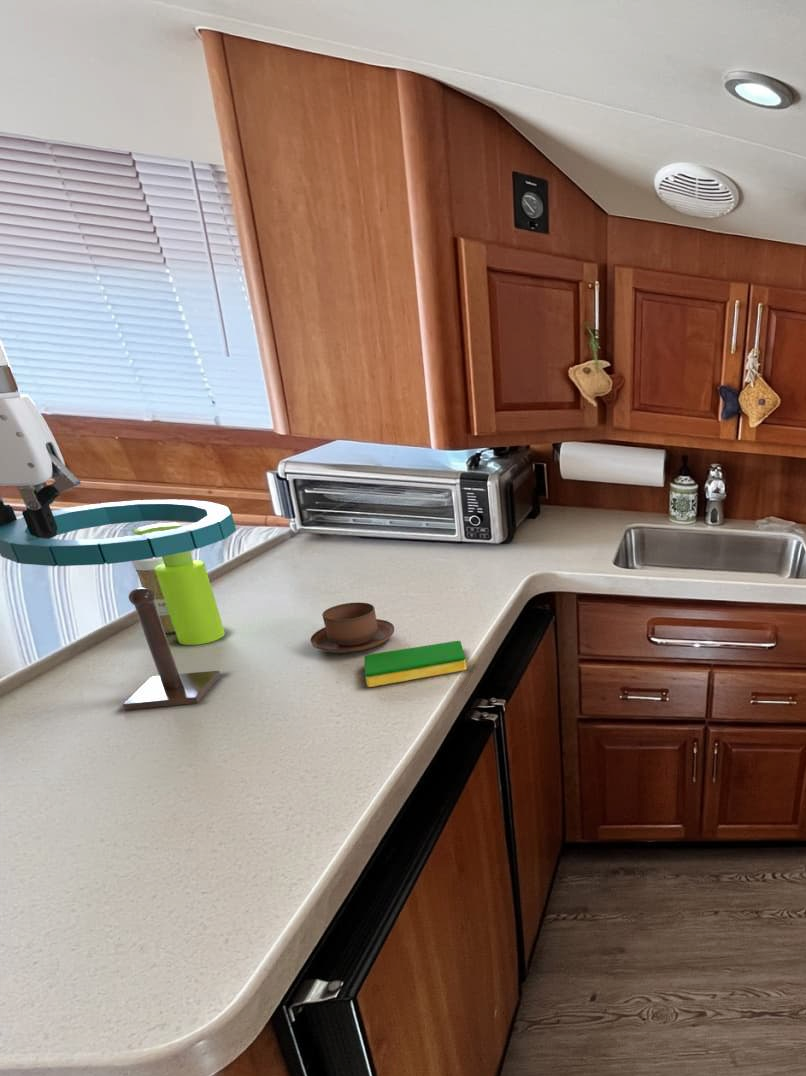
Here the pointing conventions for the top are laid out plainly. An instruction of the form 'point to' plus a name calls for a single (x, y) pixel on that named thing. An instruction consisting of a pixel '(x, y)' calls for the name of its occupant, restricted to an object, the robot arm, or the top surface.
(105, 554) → the hoop
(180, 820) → the top surface
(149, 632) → the wooden peg stand
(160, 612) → the sprinkles bottle
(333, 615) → the cup and saucer
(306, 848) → the top surface
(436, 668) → the dish sponge
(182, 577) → the soap dispenser
